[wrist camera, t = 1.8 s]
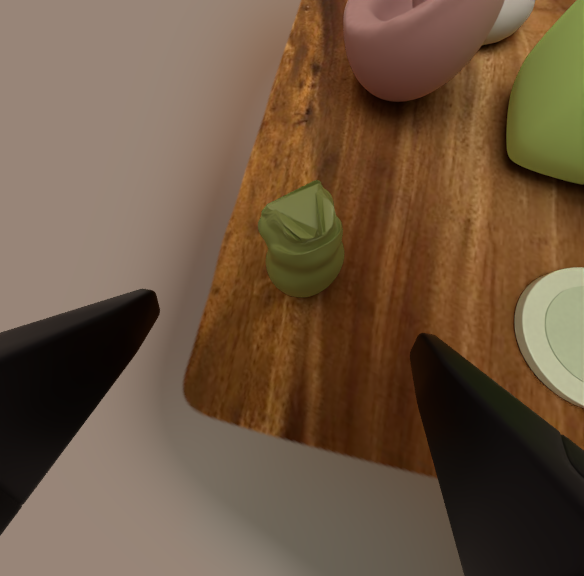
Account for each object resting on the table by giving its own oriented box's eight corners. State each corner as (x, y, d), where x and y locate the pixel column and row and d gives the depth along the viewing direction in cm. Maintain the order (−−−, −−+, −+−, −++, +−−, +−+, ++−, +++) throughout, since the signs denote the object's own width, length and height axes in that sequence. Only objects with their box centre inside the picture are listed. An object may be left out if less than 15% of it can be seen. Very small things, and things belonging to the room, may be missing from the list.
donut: (437, 57, 27) (529, 49, 26) (456, 16, 23) (562, 5, 23) (420, -2, 29) (504, -11, 29) (435, -48, 26) (530, -58, 26)
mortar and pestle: (358, 34, 28) (398, -174, 17) (462, 64, 26) (581, -145, 15) (317, 109, 25) (331, -77, 14) (428, 147, 24) (542, -30, 13)
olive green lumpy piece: (286, 314, 20) (275, 281, 10) (260, 260, 21) (228, 187, 12) (345, 284, 21) (386, 227, 11) (316, 234, 22) (330, 142, 12)
